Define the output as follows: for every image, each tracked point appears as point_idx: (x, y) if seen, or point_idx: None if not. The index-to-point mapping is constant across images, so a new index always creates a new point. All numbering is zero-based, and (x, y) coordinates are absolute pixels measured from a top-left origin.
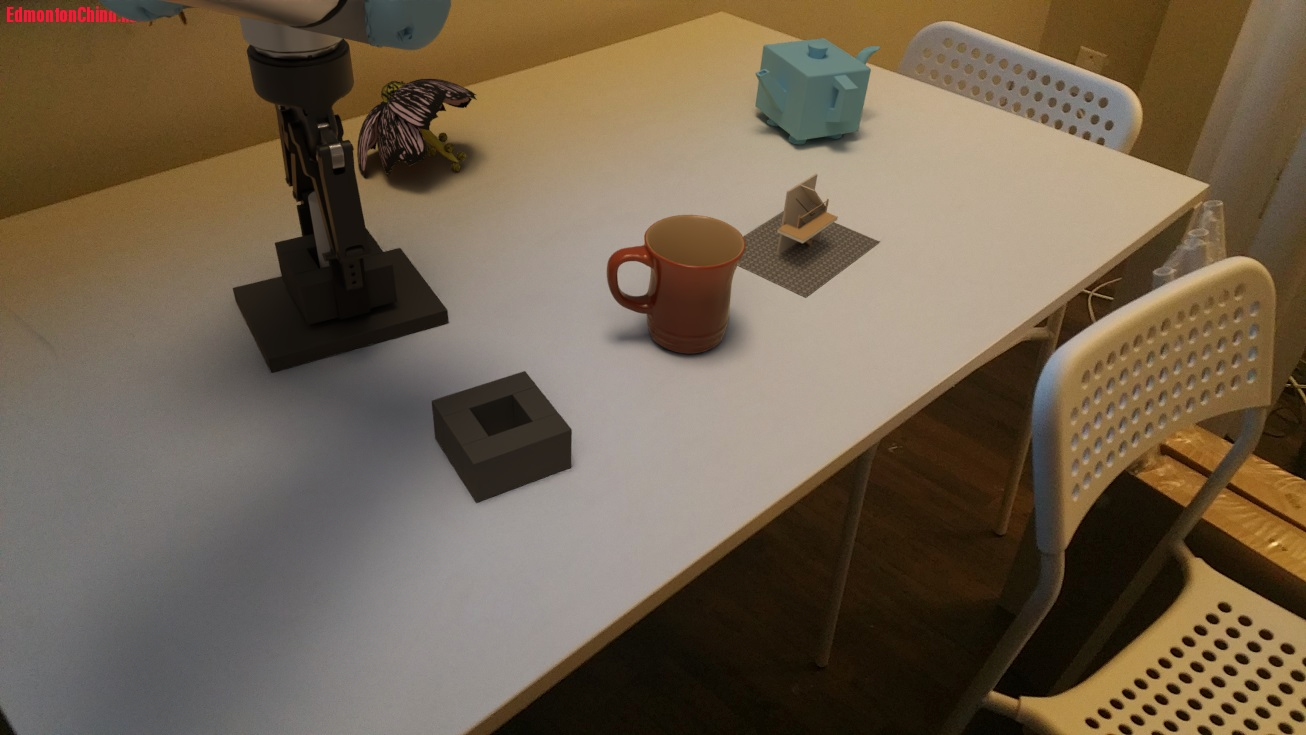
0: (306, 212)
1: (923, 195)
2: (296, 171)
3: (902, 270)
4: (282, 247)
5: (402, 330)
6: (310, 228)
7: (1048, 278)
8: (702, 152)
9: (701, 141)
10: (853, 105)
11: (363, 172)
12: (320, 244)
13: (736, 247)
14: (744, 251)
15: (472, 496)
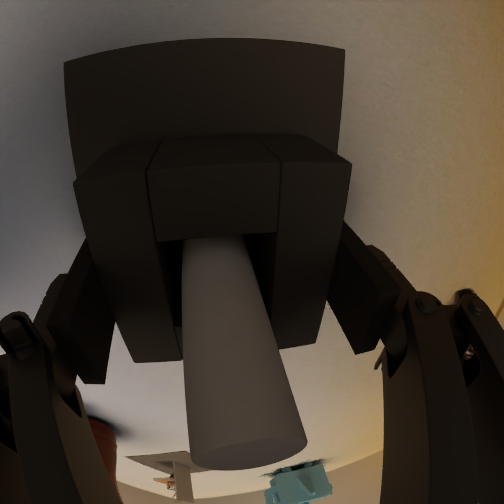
0: (367, 297)
1: (207, 482)
2: (428, 438)
3: (144, 472)
4: (316, 175)
5: None
6: (344, 265)
7: (128, 482)
8: (305, 451)
9: (317, 450)
10: (265, 499)
11: (461, 294)
12: (199, 294)
13: None
14: (182, 456)
15: None
